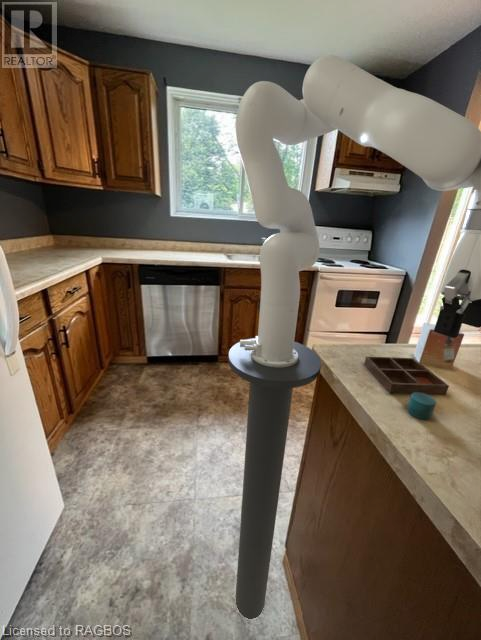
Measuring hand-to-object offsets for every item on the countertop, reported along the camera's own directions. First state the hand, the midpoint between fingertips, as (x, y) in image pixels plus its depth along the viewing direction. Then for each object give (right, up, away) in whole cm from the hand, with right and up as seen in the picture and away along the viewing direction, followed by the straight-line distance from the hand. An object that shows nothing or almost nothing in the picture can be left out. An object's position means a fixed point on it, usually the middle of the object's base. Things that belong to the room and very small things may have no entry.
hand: (458, 329), depth 46 cm
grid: (+3, -13, +21) cm, 25 cm away
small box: (+16, -11, +30) cm, 36 cm away
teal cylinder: (-1, -17, +8) cm, 19 cm away
